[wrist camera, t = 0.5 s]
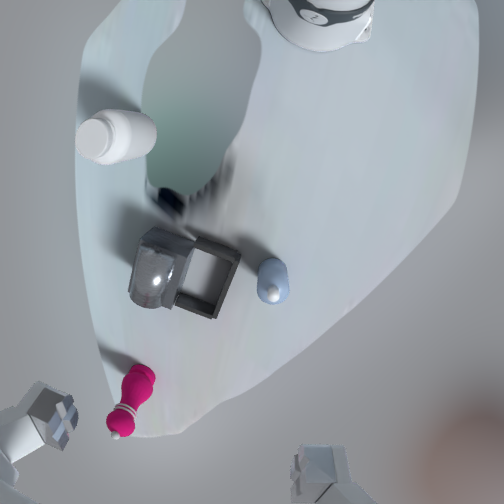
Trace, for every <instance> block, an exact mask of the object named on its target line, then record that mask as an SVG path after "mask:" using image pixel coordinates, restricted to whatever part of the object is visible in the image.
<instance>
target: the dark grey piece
mask: <svg viewBox="0 0 504 504" xmlns="http://www.w3.org/2000/svg"><path fill="white" fill-rule="evenodd" d="M195 248H197V249H199V250H202V251H204V252H207V253H210V254H212V255H215V256H217V257H220V258H223V259H225V260H228V261H231V262H233V263H232V266H231V268H230V271H229V273H228V276H227V278H226V281H225V283H224V286H223V288H222V291H221V293H220V296H219V298H218V301H217V304H216V306H215V305H212V304H209V303H207V302H204V301H201V300H199V299H196V298H194V297H191V296H188V295H186V294H183V293H181V292H180V291H181V289H182V286H183V283H184V280H185V277H186V274H187V270H188V267H189V264H190V261H191V258H192V255H193V252H194V249H195ZM240 257H241V254H239V253H237V250H234V249H232V248H229V247H227V246H224V245H221V244H219V243H216V242H213V241H211V240H208V239H206V238H203V237H200V236H199V237H198V238H197V240H196V241H195V242H194V241H191V240H189V239H186V238H183V237H181V236H178V235H176V234H173V233H170V232H168V231H165V230H163V229H160V228H158V227H153V228H152V229H151V230H150V231H149V232H147V233H146V234H145V235H144V236H143V237H142V238H140V240H139V244H138V248H137V252H136V256H135V261H134V265H133V269H132V274H131V279H130V283H129V288H128V292H129V293H130V298H131V300H132V301H133V302H134V303H136V304H137V305H139V306H141V307H144V308H149V309H155V308H159V307H161V306H163V307H165V308H168V309H170V310H171V308H172V307H173V305H174V303H175V306H178V307H180V308H183V309H185V310H188V311H191V312H193V313H196V314H199V315H201V316H204V317H207V318H209V319H212V318H215V319H216V318H217V316H218V313H219V311H220V309H221V306H222V304H223V301H224V299H225V296H226V294H227V291H228V289H229V286H230V284H231V282H232V279H233V277H234V274H235V272H236V269H237V267H238V264H239V262H240ZM179 293H180V294H179ZM178 295H179V296H178ZM177 297H178V298H177ZM176 299H177V300H176ZM175 301H176V302H175Z"/></svg>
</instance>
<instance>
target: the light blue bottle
mask: <svg viewBox="0 0 504 504" xmlns="http://www.w3.org/2000/svg"><path fill="white" fill-rule="evenodd" d="M289 291H290V289H289V281H288V274H287V268H286V265H285V264H284V263H283V262H282V261H281V260H279V259H276V258H270V259H267V260H265V261H263V262H262V263H261V264H260V266H259V269H258V282H257V294H258V296H259V298H260V299H261V300H262V301H263V302H265V303H267V304H279V303H281V302H283V301H284V300H285V299H286V298H287V297H288V295H289Z"/></svg>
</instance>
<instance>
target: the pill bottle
mask: <svg viewBox="0 0 504 504" xmlns="http://www.w3.org/2000/svg"><path fill="white" fill-rule="evenodd" d="M156 137H157V130H156V126H155V124H154V122H153V120H152V119H151V118H150V117H148V116H147V115H146V114H143V113H140V112H133V111H126V110H118V109H104V110H101V111H99V112H97V113H95V114H94V115H93V116H92V117H91V118H90V119H87V120H85V121H84V122H83V123H82V124H81V125H80V126H79V128H78V130H77V132H76V135H75V145H76V148H77V151H78V152H79V153H80V155H81V156H83V157H84V158H87V159H90V160H92V161H93V162H95V163H97V164H100V165H111V164H115V163H119V162H123V161H127V160H132V159H136V158H140V157H142V156H144V155H146V154H147V153H148V152H149V151H150V150H151V149H152V147H153V146H154V144H155V141H156Z"/></svg>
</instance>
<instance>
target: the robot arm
mask: <svg viewBox="0 0 504 504" xmlns="http://www.w3.org/2000/svg"><path fill="white" fill-rule="evenodd" d="M261 1H262V3H263V4H264V5H265V6H266V7H267V8H268V9H269V10H270V12H271V15H272V19H273V22H274V24H275V26H276V28H277V29H278V31H279V32H280V33H281V34H282V35H283V36H284V37H285V38H286V39H287V40H288V41H290V42H291V43H293V44H295V45H297V46H299V47H301V48H304V49H307V50H311V51H319V52H326V51H333V50H337V49H340V48H342V47H344V46H346V45H348V44H351V43H362V42H367V41H368V40H369V38H370V36H371V28H372V20H373V11H374V2H375V0H261ZM364 30H366V31H364ZM73 402H74V400H73V397H72V395H70V394H67V393H65V392H62V391H60V390H57V389H55V388H53V387H51V386H49V385H47V384H44V383H42V382H40V381H37V382H36V383H34V384H33V386H32V387H31V388H30V389H29V391H28V392H27V393H26V395H25V396H24V397H23V399H22V400H21V401H20V403H19V404H18V405H17V406H16V407H14V406H12V407H9V408H7V409H4V410H2V411H0V504H40V503H38V502H36V501H34V500H33V499H31V498H29V497H28V496H26V495H24V494H23V493H21V492H19V491H18V490H16V489H15V488H13V487H14V484H15V482H16V481H17V479H18V477H19V473H18V471H17V470H16V469H15V467H14V466H13V465H12V463H13V462H15V461H16V460H19V459H20V458H22V457H24V456H25V455H27V454H29V453H31V452H32V451H34V450H36V449H37V448H39V447H40V446H42V445H44V443H46V444H48V445H50V446H52V447H54V448H57V449H59V450H61V451H63V450H64V448H65V446H66V444H67V442H68V440H69V435H68V433H70V432H72V431H74V429H75V427H76V426H77V422H78V411H77V409H76V408H75V406H74V405H73ZM290 478H291V479H292V480H293V481H294V484H293V485H292V487H291V502H292V503H315V504H377V502H376V501H374V500H373V498H371V497H370V496H369V495H368V494H367V493H366V492H365V491H364V490H363V489H362V488H361V487H360V486H359V485H358V484H357V483H356V482H352V480H351V474H350V470H349V464H348V459H347V454H346V449H345V447H344V445H328V444H326V445H325V444H323V445H321V444H317V445H316V444H301V445H300V446H299V448H298V454H297V455H294V458H293V460H292V463H291V469H290Z"/></svg>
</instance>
